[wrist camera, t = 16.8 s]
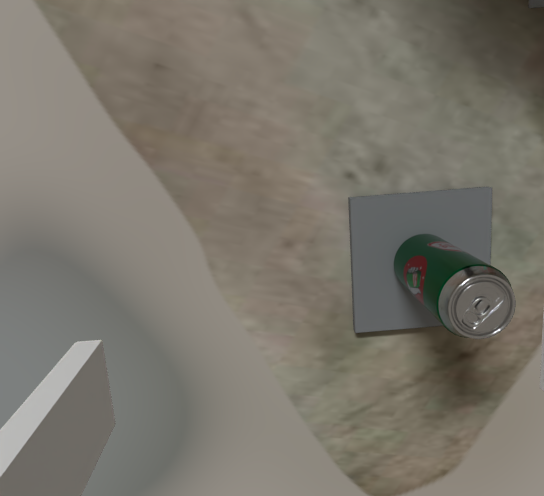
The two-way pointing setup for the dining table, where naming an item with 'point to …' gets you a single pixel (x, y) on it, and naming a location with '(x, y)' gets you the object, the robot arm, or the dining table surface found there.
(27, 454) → the robot arm
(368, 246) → the grey square plate
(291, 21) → the dining table surface
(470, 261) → the soda can
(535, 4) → the slate grey block
